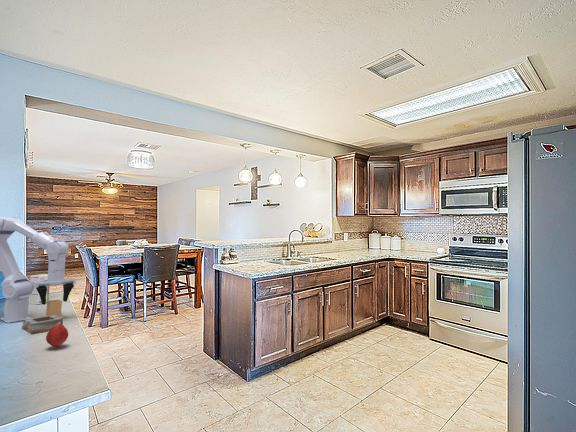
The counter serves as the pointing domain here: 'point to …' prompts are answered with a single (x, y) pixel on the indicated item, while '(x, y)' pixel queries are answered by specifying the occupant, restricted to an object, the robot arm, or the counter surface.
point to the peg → (54, 308)
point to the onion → (57, 335)
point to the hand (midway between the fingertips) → (54, 302)
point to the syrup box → (35, 296)
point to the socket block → (41, 323)
